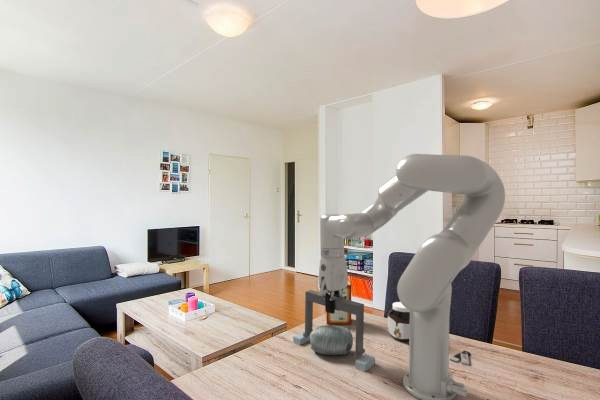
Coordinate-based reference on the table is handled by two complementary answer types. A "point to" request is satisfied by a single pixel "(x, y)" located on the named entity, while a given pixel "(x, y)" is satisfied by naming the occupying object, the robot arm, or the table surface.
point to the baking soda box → (340, 316)
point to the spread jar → (399, 322)
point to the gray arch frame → (339, 305)
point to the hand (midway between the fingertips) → (333, 310)
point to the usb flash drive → (462, 357)
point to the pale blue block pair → (361, 363)
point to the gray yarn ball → (331, 340)
